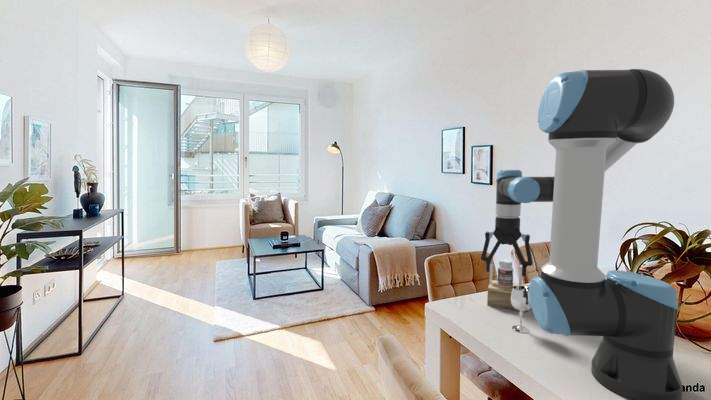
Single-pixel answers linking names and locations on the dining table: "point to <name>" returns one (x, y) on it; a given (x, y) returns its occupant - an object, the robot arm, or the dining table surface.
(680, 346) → the dining table surface
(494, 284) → the lid
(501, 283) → the pill bottle
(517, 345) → the dining table surface
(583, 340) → the dining table surface
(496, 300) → the crate
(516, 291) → the wineglass
